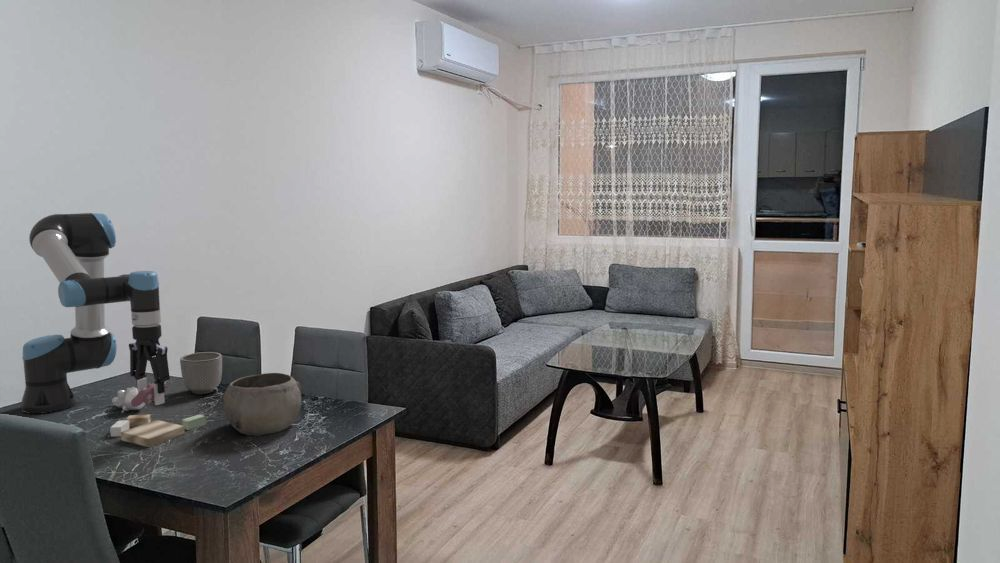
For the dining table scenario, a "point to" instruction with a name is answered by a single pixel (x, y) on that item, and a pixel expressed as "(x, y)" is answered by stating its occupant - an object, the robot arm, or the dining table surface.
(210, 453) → the dining table surface
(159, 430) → the maple slab
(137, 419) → the brick beech
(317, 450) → the dining table surface
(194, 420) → the brick sage
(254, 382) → the bowl
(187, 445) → the dining table surface
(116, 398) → the figurine
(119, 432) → the brick white
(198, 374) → the planter
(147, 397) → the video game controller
